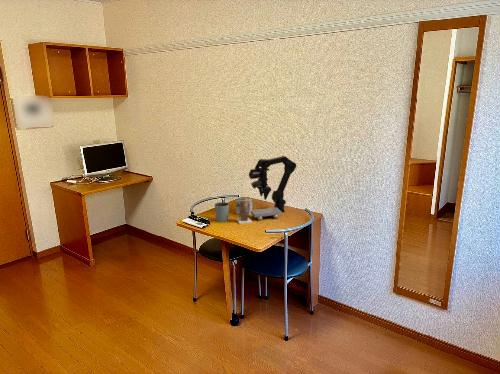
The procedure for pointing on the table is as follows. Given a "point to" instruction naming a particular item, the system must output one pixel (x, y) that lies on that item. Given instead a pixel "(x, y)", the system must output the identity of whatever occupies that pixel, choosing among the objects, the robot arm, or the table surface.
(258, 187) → the robot arm
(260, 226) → the table surface
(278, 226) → the table surface
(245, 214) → the walnut roller
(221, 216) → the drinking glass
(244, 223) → the pad
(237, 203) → the light bulb box
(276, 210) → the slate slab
